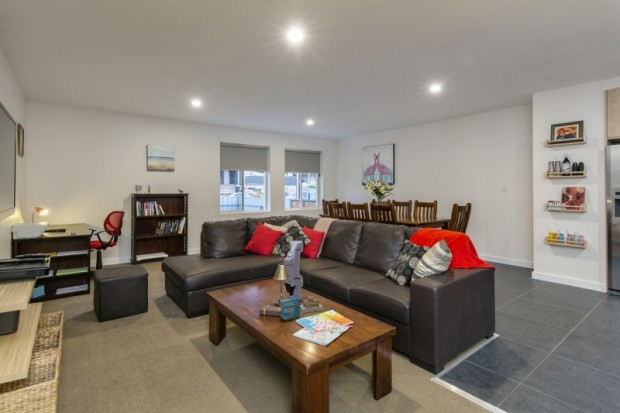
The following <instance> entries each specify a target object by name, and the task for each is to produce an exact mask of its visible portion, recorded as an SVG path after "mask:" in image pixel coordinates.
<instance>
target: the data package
mask: <svg viewBox="0 0 620 413" xmlns="http://www.w3.org/2000/svg"><path fill="white" fill-rule="evenodd" d="M300 305H301V301H300V300H299V299H298V298H296V297H294V298H290V297H289V298H283V299H281V300H280V317H281V319H282V320H284V321H286V320H287V321H288V320H292V319H296V318H299V317H301V310H300Z"/></svg>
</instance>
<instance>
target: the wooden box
mask: <svg viewBox="0 0 620 413" xmlns="http://www.w3.org/2000/svg"><path fill="white" fill-rule="evenodd" d="M319 304H320V300H319V299H318V298H317V297H314V301H310V302H309V301H308V298H307V299H302V305H303V306H305V308H311V307H317V306H319Z"/></svg>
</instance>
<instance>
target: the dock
mask: <svg viewBox="0 0 620 413" xmlns="http://www.w3.org/2000/svg"><path fill="white" fill-rule="evenodd" d="M321 311H324V307H323V305H321V303H319V306H317V307H311V308H305V306H303V304H300V312H302V313H303V314H306V313H307V314H308V313H313V312H315V313H316V312H321Z"/></svg>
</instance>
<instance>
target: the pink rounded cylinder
mask: <svg viewBox="0 0 620 413" xmlns="http://www.w3.org/2000/svg"><path fill="white" fill-rule="evenodd" d="M314 298H315V296H314V295H308V296H307V299H308V301H309V302H310V301H314Z"/></svg>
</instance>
